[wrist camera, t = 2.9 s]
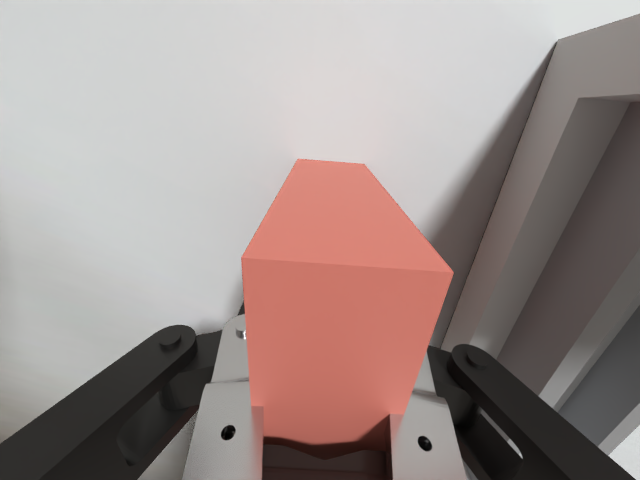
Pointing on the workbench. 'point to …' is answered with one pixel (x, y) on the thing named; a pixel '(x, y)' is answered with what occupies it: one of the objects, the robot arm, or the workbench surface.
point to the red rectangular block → (337, 309)
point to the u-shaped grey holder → (569, 243)
